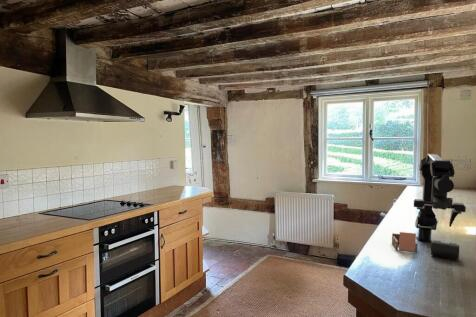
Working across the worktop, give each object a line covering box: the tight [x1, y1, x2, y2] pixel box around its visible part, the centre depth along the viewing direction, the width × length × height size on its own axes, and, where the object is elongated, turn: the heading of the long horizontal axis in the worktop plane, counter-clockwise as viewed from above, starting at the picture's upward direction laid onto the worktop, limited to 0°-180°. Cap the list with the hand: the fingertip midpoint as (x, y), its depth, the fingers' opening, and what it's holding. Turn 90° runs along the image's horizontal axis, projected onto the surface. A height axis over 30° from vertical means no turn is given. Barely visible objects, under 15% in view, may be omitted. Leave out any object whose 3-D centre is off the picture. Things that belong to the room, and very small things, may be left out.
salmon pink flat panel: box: [398, 231, 417, 254], centre depth 147 cm, size 1×7×9 cm, turn 74°
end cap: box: [430, 240, 460, 261], centre depth 141 cm, size 10×7×7 cm
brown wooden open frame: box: [391, 232, 419, 254], centre depth 153 cm, size 11×9×5 cm
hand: (437, 225), depth 142 cm, fingers open, 9 cm apart
